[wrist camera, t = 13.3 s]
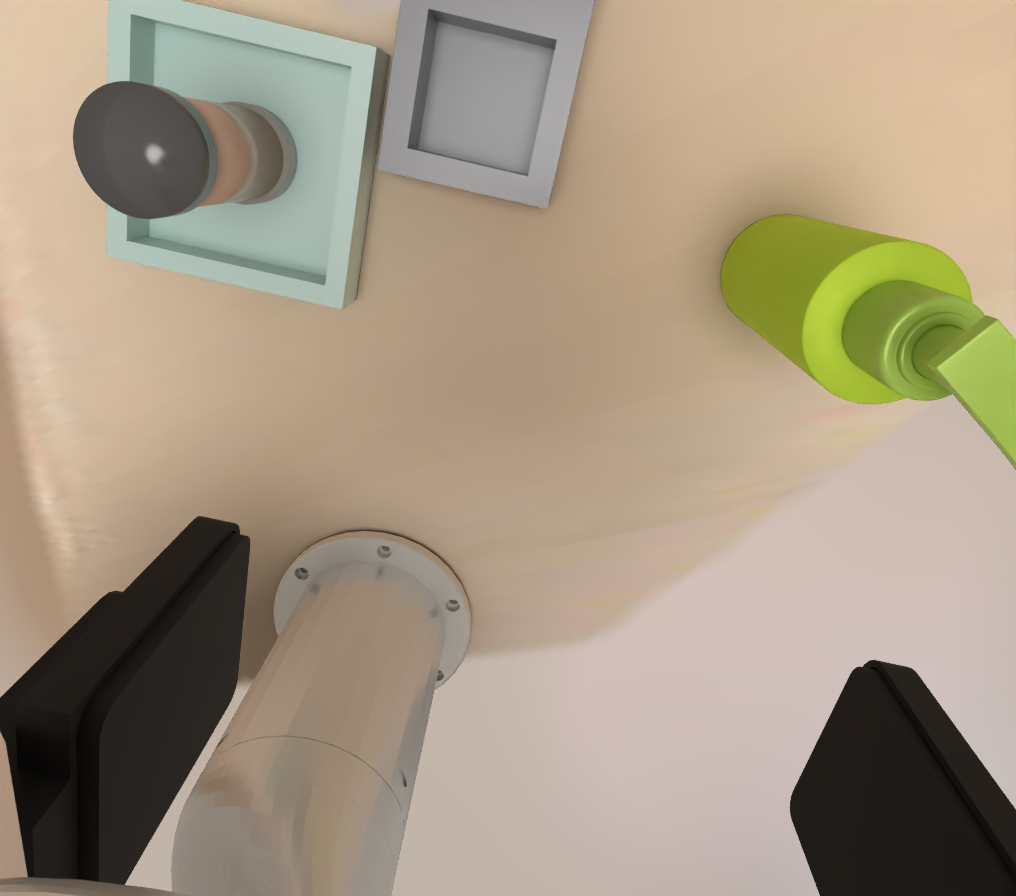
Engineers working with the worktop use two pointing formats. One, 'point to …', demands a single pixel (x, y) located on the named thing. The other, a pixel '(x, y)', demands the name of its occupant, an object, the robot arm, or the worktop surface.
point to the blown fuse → (179, 151)
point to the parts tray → (308, 116)
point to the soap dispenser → (873, 318)
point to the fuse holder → (483, 93)
